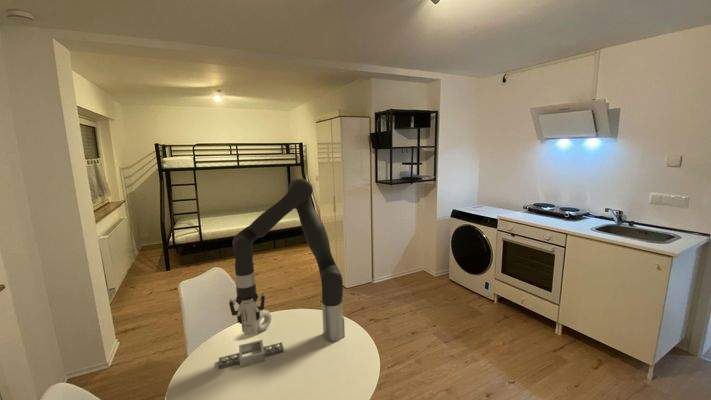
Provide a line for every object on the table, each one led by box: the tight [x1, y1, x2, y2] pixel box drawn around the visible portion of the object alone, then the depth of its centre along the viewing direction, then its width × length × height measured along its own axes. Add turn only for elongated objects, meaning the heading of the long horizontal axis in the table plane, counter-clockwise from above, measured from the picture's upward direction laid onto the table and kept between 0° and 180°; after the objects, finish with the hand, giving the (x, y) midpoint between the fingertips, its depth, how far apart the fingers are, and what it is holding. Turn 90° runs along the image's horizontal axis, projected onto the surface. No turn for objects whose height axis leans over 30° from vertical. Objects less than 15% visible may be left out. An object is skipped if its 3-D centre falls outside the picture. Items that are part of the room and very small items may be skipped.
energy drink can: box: [240, 298, 257, 336], centre depth 126 cm, size 6×6×15 cm
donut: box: [256, 309, 272, 332], centre depth 147 cm, size 10×4×10 cm, turn 144°
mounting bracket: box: [218, 339, 285, 370], centre depth 129 cm, size 26×10×4 cm, turn 112°
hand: (249, 320), depth 127 cm, fingers closed on energy drink can, 6 cm apart
